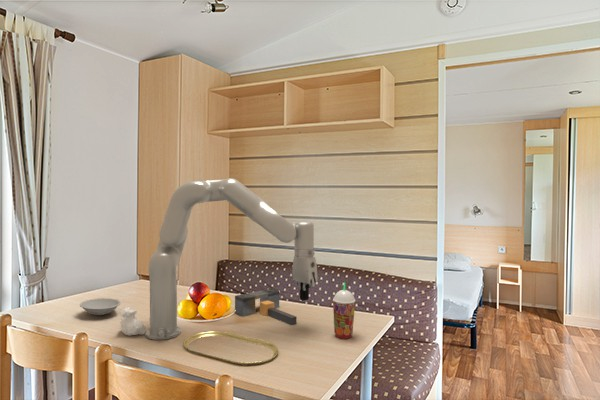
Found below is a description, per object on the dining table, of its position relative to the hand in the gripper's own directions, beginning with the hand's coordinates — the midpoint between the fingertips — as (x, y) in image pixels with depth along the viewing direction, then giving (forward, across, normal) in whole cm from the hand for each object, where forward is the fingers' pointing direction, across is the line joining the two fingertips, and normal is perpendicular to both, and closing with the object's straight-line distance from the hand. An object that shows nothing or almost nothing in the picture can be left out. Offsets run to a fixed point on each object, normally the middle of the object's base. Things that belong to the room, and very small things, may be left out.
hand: (304, 299), depth 160 cm
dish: (+10, +67, +55) cm, 87 cm away
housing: (+11, +30, +1) cm, 32 cm away
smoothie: (+12, -16, -5) cm, 20 cm away
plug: (+11, +15, +1) cm, 19 cm away
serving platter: (+11, +1, +33) cm, 35 cm away
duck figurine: (+10, +36, +54) cm, 66 cm away
